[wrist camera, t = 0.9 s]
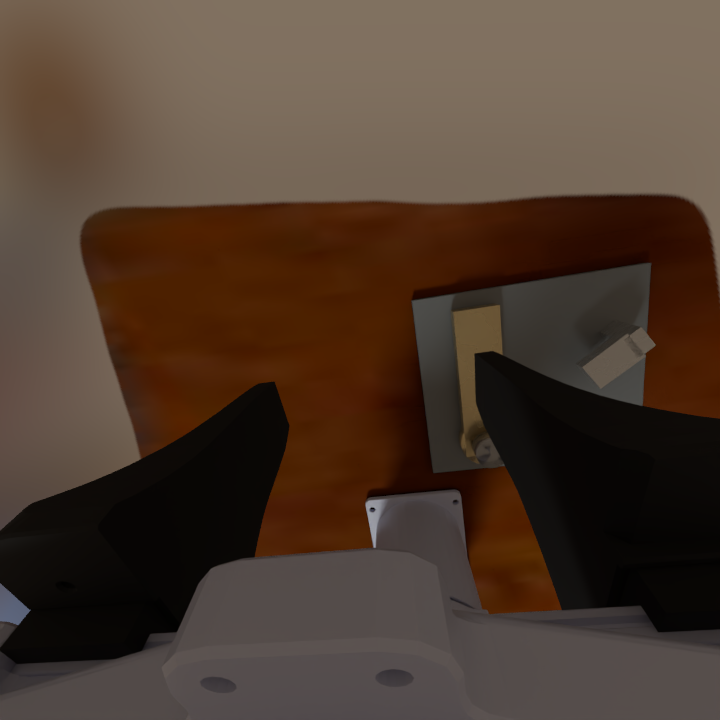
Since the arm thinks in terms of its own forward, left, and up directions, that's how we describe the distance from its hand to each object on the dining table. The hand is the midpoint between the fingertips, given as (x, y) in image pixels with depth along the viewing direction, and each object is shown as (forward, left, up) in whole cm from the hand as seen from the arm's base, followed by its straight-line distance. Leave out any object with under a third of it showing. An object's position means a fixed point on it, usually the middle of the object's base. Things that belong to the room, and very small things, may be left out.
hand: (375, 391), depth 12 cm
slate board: (-6, -10, -13) cm, 18 cm away
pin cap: (-9, -7, -11) cm, 16 cm away
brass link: (-5, -7, -12) cm, 15 cm away
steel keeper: (-4, -15, -13) cm, 20 cm away
